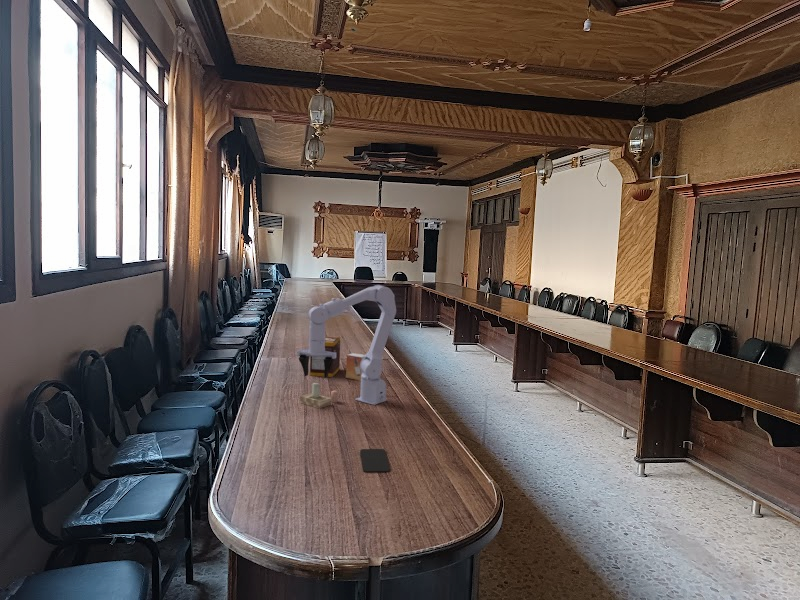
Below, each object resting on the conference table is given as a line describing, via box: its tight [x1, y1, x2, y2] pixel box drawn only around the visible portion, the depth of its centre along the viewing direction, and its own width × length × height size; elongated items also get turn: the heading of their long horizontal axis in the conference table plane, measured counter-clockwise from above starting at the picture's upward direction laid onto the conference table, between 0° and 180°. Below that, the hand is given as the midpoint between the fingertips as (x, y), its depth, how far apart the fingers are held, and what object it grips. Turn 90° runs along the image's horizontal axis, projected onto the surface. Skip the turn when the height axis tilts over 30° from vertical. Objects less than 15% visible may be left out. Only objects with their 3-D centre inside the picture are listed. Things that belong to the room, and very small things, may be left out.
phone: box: [359, 448, 391, 474], centre depth 151 cm, size 7×1×15 cm
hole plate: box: [299, 392, 332, 409], centre depth 200 cm, size 10×6×2 cm, turn 55°
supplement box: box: [309, 335, 341, 378], centre depth 247 cm, size 10×15×16 cm
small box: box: [345, 352, 366, 382], centre depth 239 cm, size 8×6×10 cm
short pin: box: [330, 390, 339, 404], centre depth 204 cm, size 3×3×4 cm
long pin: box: [311, 382, 321, 399], centre depth 200 cm, size 3×3×8 cm
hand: (316, 376), depth 199 cm, fingers open, 7 cm apart
